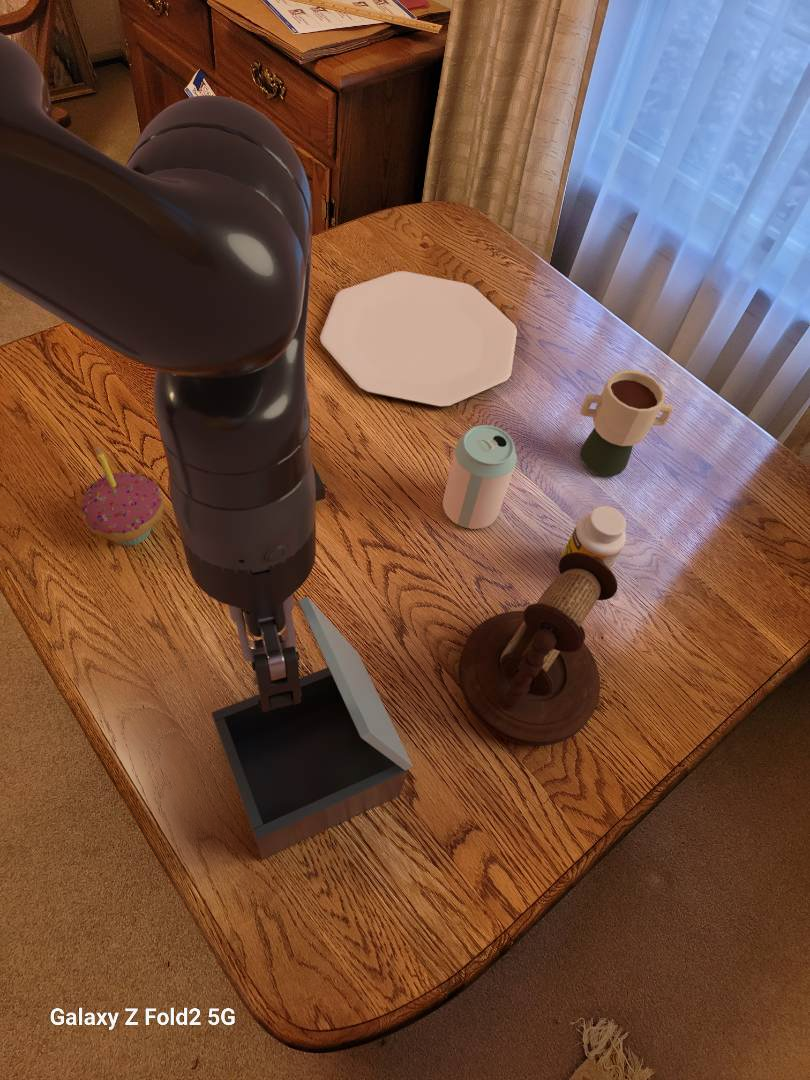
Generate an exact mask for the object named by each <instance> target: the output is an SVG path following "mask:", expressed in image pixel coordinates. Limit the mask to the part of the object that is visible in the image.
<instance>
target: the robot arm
mask: <svg viewBox="0 0 810 1080" xmlns="http://www.w3.org/2000/svg"><path fill="white" fill-rule="evenodd" d="M313 215H314V212H313V198H312V192H311V187H310V183H309V179H308V176H307V172H306V170H305V168H304V165H303V163H302V160H301V158H300V157H299V154H298V152H297V151H296V149H295V148H294V146H293V144H292V143H291V141H290V140H289V138H288V137H287V136H286V134H285V133H283V131H282V130H281V129H280V127H278V126H277V125H276V124H275V123H274V122H273V121H272V120H271V119H270V118H269V117H267V115H265V114H264V113H262V112H261V111H259V110H258V109H257V108H255V107H253V106H251V105H249V104H247V103H246V102H243V101H240V100H238V99H234V98H232V97H228V96H221V95H210V94H209V95H208V94H203V95H195V96H192V97H189V98H184V99H182V100H178V101H176V102H174V103H173V104H171V105H169V106H167V107H166V108H164V109H162V110H161V111H160V112H159V113H157V115H156V116H155V117H154V118H152V120H151V121H150V122H149V123H148V124H147V125H146V126H145V128H144V129H143V130H142V131H141V132H140V133H139V136H138V138H137V140H136V141H135V143H134V145H133V148H132V150H131V152H130V155H129V157H128V160H127V162H126V165H125V164H122V163H120V162H119V161H118V160H115V159H113V158H112V157H110V156H109V155H107V154H106V153H104V152H102V151H101V150H99V149H97V148H96V147H94V146H93V145H91V144H90V143H88V142H87V141H86V140H83V139H82V138H80V137H79V136H78V135H76V134H74V133H73V132H72V131H70V130H68V129H66V128H65V127H63V126H62V125H61V124H59V123H58V122H57V121H55V120H54V119H53V106H52V98H51V92H50V89H49V85H48V81H47V78H46V77H45V74H44V73H43V70H42V69H41V67H40V65H39V64H38V62H37V61H36V60H35V59H34V58H33V56H32V55H31V54H30V53H29V52H28V51H27V50H26V49H25V48H23V47H22V46H21V45H20V44H18V42H16V41H15V40H13V39H12V38H10V37H8V36H7V35H5V34H3V33H2V32H0V284H2V285H3V286H5V287H7V288H8V289H10V290H11V291H13V292H14V293H17V294H18V295H20V296H22V297H23V298H25V299H27V300H29V301H31V302H33V303H34V304H36V305H37V306H38V307H41V308H42V309H44V310H46V311H47V312H48V313H50V314H52V315H54V316H55V317H57V318H58V319H60V320H62V321H63V322H66V323H67V324H68V325H70V326H72V327H73V328H74V329H77V330H78V331H80V332H81V333H83V334H85V335H86V336H88V337H90V339H93V340H94V341H96V342H98V343H99V344H101V345H103V346H105V347H106V348H108V349H110V350H112V351H114V352H115V353H117V354H119V355H121V356H123V357H124V358H127V359H128V360H130V361H132V362H135V363H138V364H139V365H142V366H145V367H147V368H149V369H152V370H154V371H155V375H154V383H153V404H154V405H153V406H154V407H153V408H154V415H155V420H156V425H157V429H158V433H159V437H160V440H161V444H162V448H163V451H164V456H165V460H166V464H167V469H168V485H169V496H170V497H169V498H170V502H171V505H172V509H173V513H174V518H175V521H176V524H177V528H178V532H179V537H180V541H181V544H182V547H183V552H184V555H185V560H186V563H187V567H188V570H189V573H190V576H191V577H192V579H193V581H194V582H195V584H196V585H197V586H198V588H199V589H200V590H201V591H202V592H204V594H206V595H208V596H209V598H212V599H214V600H215V601H217V602H220V603H221V604H224V605H227V606H228V609H229V616H230V618H231V620H232V622H234V623H235V625H236V628H237V633H238V639H239V644H240V649H241V654H242V657H243V659H244V661H246V662H250V663H251V668H252V671H253V673H254V677H252V680H253V684H254V686H256V689H257V691H258V694H259V696H260V699H258V703H259V707H262V711H263V712H267V711H270V709H271V710H272V709H276V708H280V707H284V706H288V705H292V704H294V705H295V704H299V703H301V697H302V692H301V689H300V679H299V678H300V667H299V666H300V665H299V661H300V660H301V659H300V658H301V657H300V653H299V651H298V650H297V651H296V649H297V647H298V642H297V635H296V630H295V625H294V619H293V613H292V611H293V609H294V607H295V600H294V594H295V592H297V591H298V590H299V589H300V588H301V587H302V586H303V585H304V583H306V581H307V579H308V578H309V577H310V575H311V573H312V571H313V568H314V565H315V561H316V553H317V544H316V543H317V514H316V513H317V511H316V506H317V504H316V502H317V501H316V486H315V476H314V470H313V465H314V464H313V465H312V463H313V461H312V455H311V408H310V399H309V392H308V380H307V367H306V366H307V365H306V344H307V343H306V342H307V329H308V316H309V315H308V314H309V303H310V302H309V299H310V285H311V266H312V265H311V264H312V247H313V220H314V219H313V217H314V216H313ZM247 629H248V630H247ZM248 632H249V634H250V635H252V636H253V637H256V638H260V639H256V640H252V639H250V638H249V636H248ZM281 632H282V633H281ZM279 633H280V634H279Z"/></svg>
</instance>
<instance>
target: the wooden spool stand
mask: <svg viewBox="0 0 810 1080" xmlns="http://www.w3.org/2000/svg"><path fill="white" fill-rule="evenodd" d="M560 558H561V557H560ZM559 561H560V562H559ZM559 561H558V572H559V575H558V576H557V577H556V578H555V579H554V580H553V581H552V582H551V583H550V584H549V585H548V587H547V588H546V589H545V590H544V591H543V593H542V594H541V596H540V597H539V599H538V600H537V602H534V603H531V604H529V605H528V606H526V608H525V609H524V610H511V611H506V612H505V611H504V612H501V613H498V614H496V615H493V616H491V617H488V618H487V619H485V620H484V621H483V622H481V623H480V624H478V625H477V626H476V627H475V628H474V629H473V631H472V632H471V633H470V634H469V636H468V638H467V639H466V641H465V643H464V645H463V648H462V651H461V653H460V657H459V660H458V681H459V686H460V690H461V693H462V696H463V698H464V701H465V702H466V704H467V706H468V707H469V709H470V711H471V713H473V715H474V716H475V717H476V719H478V721H479V722H480V723H481V724H483V726H485V727H486V728H487V729H489V730H490V731H491V732H492V733H494V734H496V735H497V736H499V737H500V738H502V739H505V740H508V741H509V742H512V743H515V744H519V745H524V746H531V747H546V746H551V745H555V744H558V743H561V742H565V741H567V740H568V739H570V738H572V737H573V736H575V735H577V734H578V733H579V732H580V731H581V730H582V729H583V728H584V727H585V725H586V724H588V722H589V721H590V719H591V718H592V716H593V715H594V713H595V711H596V709H597V706H598V704H599V699H600V695H601V679H600V673H599V668H598V665H597V663H596V662H597V661H596V660H595V657H594V656H593V653H592V652H591V650H590V649H589V647H588V645H587V644H586V642H585V641H586V632H585V629H584V627H583V626H582V625H583V623H584V621H585V620H586V619H587V617H588V615H589V613H590V612H591V611H592V609H593V608H594V606H595V605H596V602H597V601H606V600H609V599H612V598H613V597H614V596H615V595H616V593H617V590H618V581H617V578H616V576H615V574H614V572H613V571H612V569H611V568H610V569H609V568H608V567H607V566H606V565H605V563H604V562H603V560H602V559H601V558H599V557H597V556H590V555H588V554H584V553H579V552H573V553H568V554H566V555H564V556H563V557H562V558H561V560H560V559H559Z"/></svg>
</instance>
